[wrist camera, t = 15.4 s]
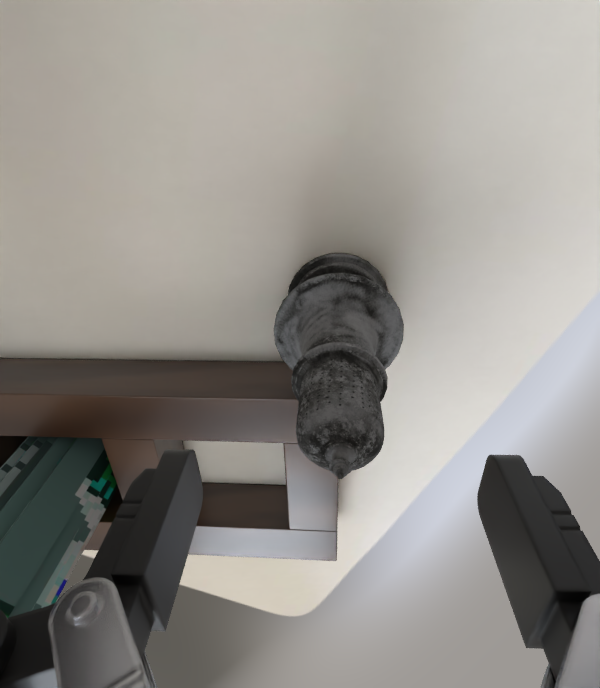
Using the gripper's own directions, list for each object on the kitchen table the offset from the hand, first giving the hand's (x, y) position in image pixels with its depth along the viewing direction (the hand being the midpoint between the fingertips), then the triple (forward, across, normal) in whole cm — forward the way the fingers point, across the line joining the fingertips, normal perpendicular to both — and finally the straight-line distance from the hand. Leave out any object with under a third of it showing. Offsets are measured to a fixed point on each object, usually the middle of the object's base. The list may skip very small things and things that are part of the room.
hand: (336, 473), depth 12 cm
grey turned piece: (+12, 0, +1) cm, 12 cm away
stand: (+12, +11, +11) cm, 20 cm away
